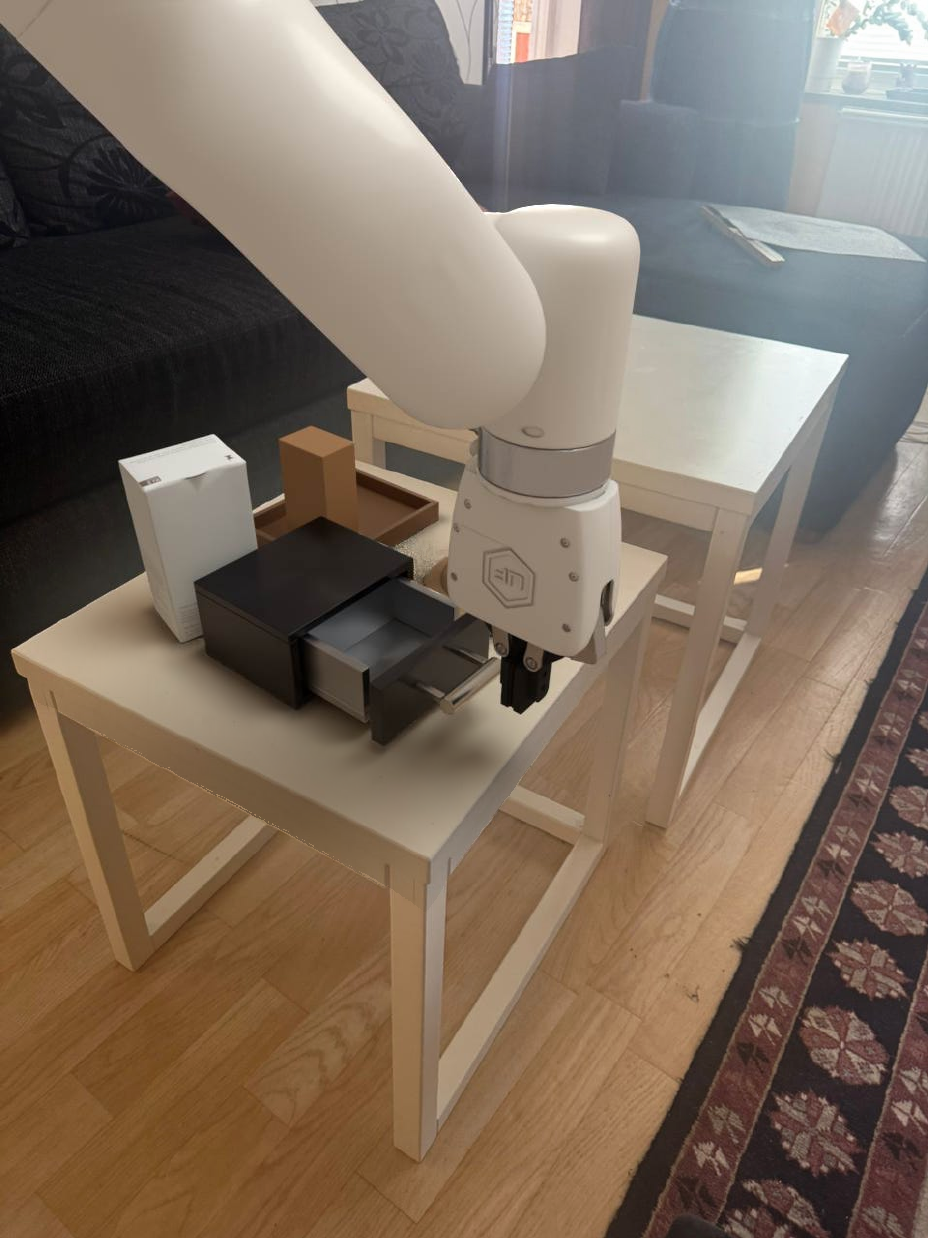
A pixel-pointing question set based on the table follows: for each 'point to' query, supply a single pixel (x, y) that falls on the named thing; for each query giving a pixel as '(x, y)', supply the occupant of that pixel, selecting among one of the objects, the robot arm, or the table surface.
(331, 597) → the black drawer housing
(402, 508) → the tray
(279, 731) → the table surface
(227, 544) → the cosmetic box
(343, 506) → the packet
